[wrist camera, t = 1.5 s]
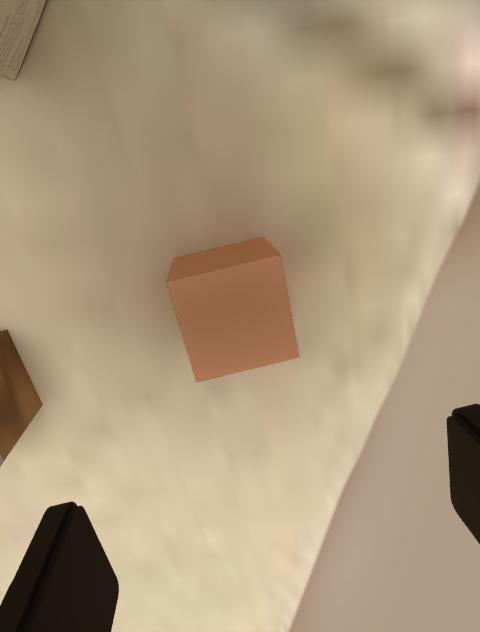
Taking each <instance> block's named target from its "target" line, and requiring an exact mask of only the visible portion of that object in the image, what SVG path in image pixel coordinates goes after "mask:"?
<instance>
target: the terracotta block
mask: <svg viewBox="0 0 480 632" xmlns="http://www.w3.org/2000/svg"><path fill="white" fill-rule="evenodd" d="M166 283H167V286H168V290H169V293H170V296H171V300H172V303H173V306H174V310H175V313H176V316H177V320H178V323H179V326H180V329H181V333H182V336H183V339H184V343H185V346H186V349H187V353H188V356H189V359H190V363H191V366H192V369H193V373H194V376H195V379H196V382H200V381H204V380H208V379H212V378H216V377H220V376H224V375H229V374H233V373H237V372H241V371H245V370H249V369H253V368H257V367H262V366H266V365H270V364H274V363H278V362H282V361H286V360H290V359H295V358H299V351H298V346H297V341H296V336H295V331H294V325H293V320H292V315H291V310H290V305H289V299H288V294H287V289H286V284H285V278H284V273H283V268H282V263H281V258H280V254H279V253H278V252H277V251H276V250H275V249H274V248H273V247H272V246H271V244H270V243H269V242H268V241H267V240H266V239H265V238H264V237H262V238H257V239H253V240H249V241H245V242H241V243H237V244H233V245H228V246H224V247H220V248H216V249H212V250H208V251H204V252H199V253H195V254H191V255H187V256H183V257H179V258H175V259H174V260H173V264H172V267H171V270H170V273H169V276H168V279H167V282H166Z"/></svg>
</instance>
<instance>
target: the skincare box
mask: <svg viewBox="0 0 480 632" xmlns="http://www.w3.org/2000/svg"><path fill="white" fill-rule="evenodd" d="M45 2H46V0H0V76H3V77H6V78H9V79H11V80H15V79H16V76H17V74H18V72H19V69H20V67H21V64H22V62H23V59H24V56H25V54H26V51H27V49H28V46H29V43H30V41H31V38H32V36H33V33H34V31H35V28H36V26H37V23H38V20H39V18H40V15H41V12H42V10H43V7H44V5H45Z"/></svg>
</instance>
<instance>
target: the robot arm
mask: <svg viewBox="0 0 480 632" xmlns="http://www.w3.org/2000/svg"><path fill="white" fill-rule="evenodd" d="M447 435H448V455H449V474H450V493H451V501H452V504H453V506H454V509H455V510H456V512H457V514H458V515H459V517H460V518H461V519H462V521H463V522H464V523H465V525H466V526H467V527H468V529H469V530H470V531H471V533H472V534H473V536H474V537H475V538H476V539H477V541H478V542H479V544H480V405H479V404H473V405H469V406H465V407H461V408H457V409H454V410H453V412H452V416H449V417H448V418H447ZM118 594H119V586H118V580H117V577H116V575H115V573H114V571H113V569H112V567H111V564H110V562H109V560H108V558H107V556H106V554H105V552H104V550H103V547H102V545H101V543H100V541H99V539H98V537H97V535H96V533H95V530H94V528H93V526H92V524H91V522H90V520H89V518H88V515H87V513H86V511H85V509H84V508H83V507H82V506H77V505H76V503H74V502H67V503H63V504H59V505H55V506H51V507H49V508H47V510H46V511H45V513H44V515H43V518H42V520H41V522H40V524H39V526H38V528H37V530H36V532H35V535H34V537H33V539H32V541H31V543H30V545H29V547H28V549H27V552H26V554H25V556H24V558H23V560H22V562H21V564H20V566H19V569H18V571H17V573H16V575H15V577H14V579H13V581H12V583H11V584H10V586H9V588H8V590H7V593H6V595H5V597H4V599H3V601H2V603H1V605H0V632H111V629H112V624H113V619H114V614H115V609H116V604H117V600H118Z"/></svg>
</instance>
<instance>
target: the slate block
mask: <svg viewBox="0 0 480 632" xmlns="http://www.w3.org/2000/svg"><path fill="white" fill-rule="evenodd" d="M3 462H4V460H3V458H2V456H1V454H0V467H1V465H2V464H3Z"/></svg>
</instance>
